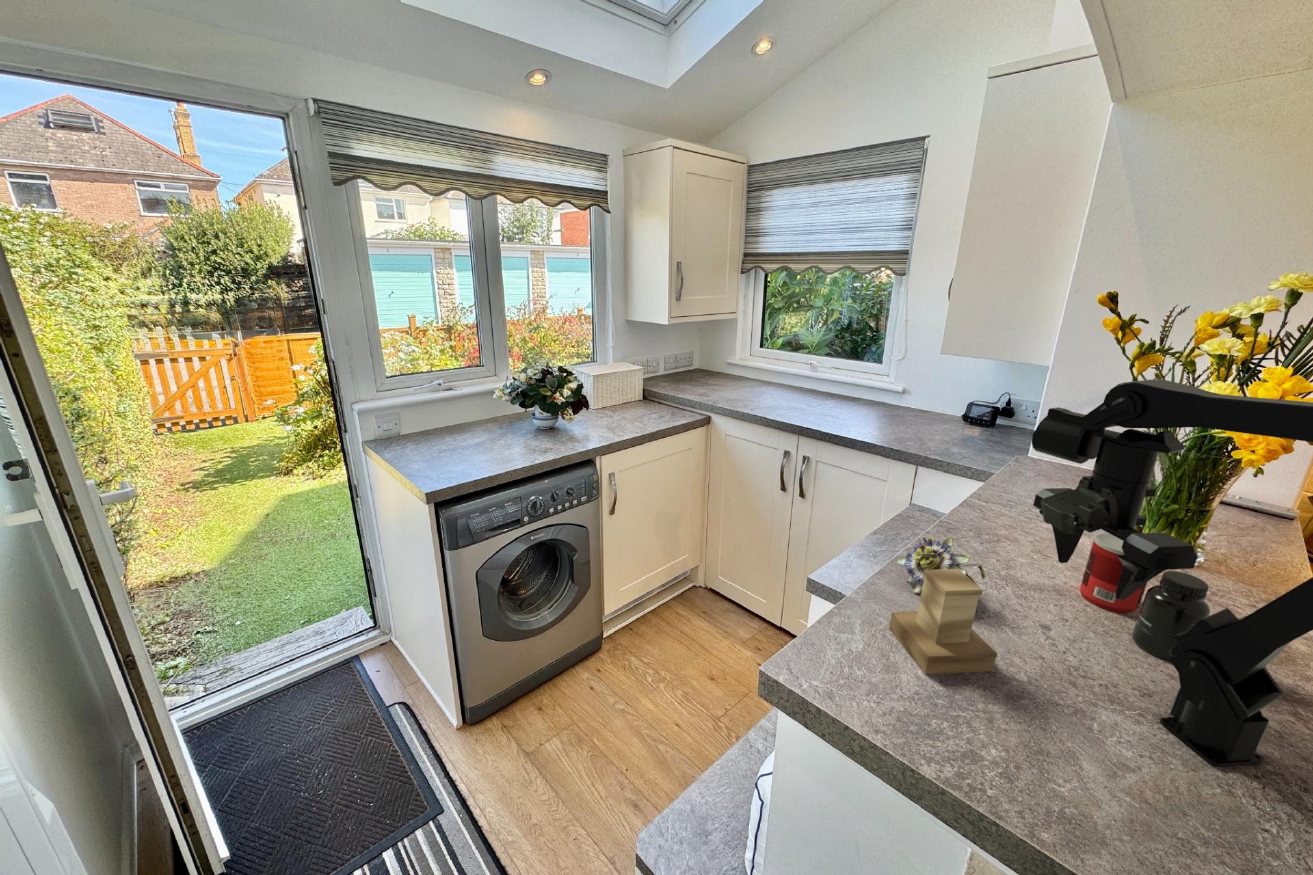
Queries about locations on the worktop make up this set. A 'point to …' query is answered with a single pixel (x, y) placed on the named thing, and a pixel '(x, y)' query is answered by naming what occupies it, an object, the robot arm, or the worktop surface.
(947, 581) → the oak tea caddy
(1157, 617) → the supplement bottle
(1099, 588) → the canned food
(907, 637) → the walnut block
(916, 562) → the passion flower
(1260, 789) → the worktop surface
